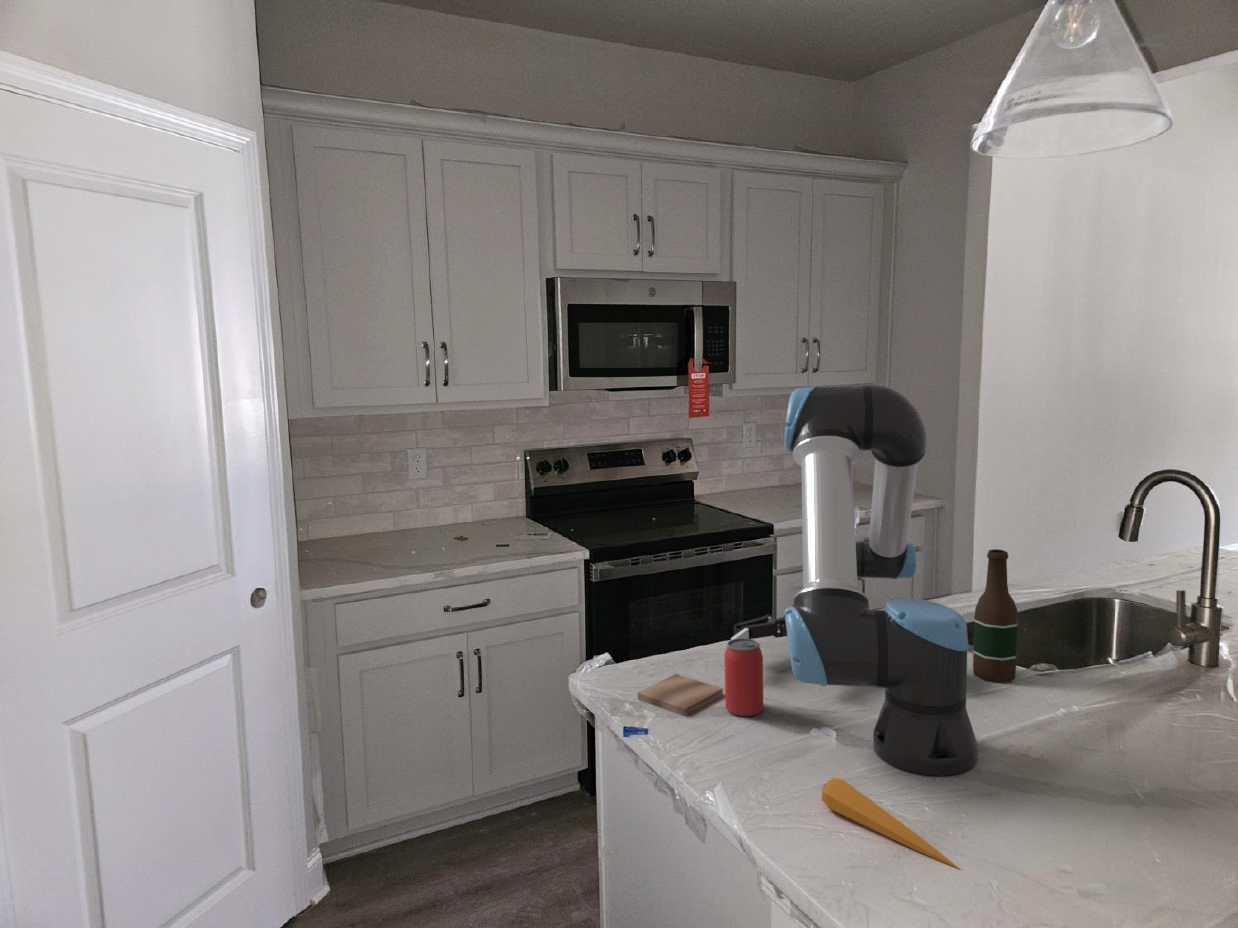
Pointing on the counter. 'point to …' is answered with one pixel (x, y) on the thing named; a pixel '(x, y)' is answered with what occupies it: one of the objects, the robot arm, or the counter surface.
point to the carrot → (874, 817)
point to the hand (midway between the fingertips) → (766, 652)
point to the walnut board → (680, 694)
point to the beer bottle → (995, 625)
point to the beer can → (743, 677)
